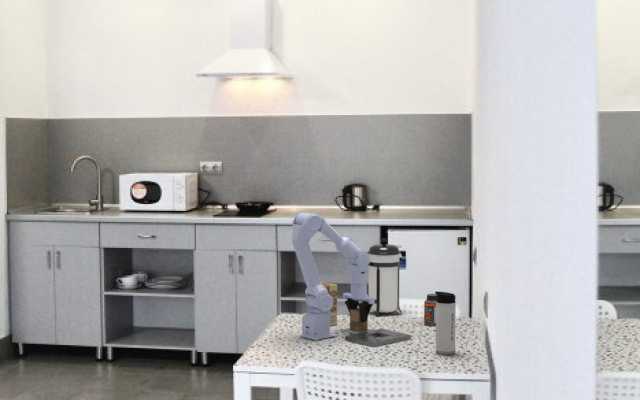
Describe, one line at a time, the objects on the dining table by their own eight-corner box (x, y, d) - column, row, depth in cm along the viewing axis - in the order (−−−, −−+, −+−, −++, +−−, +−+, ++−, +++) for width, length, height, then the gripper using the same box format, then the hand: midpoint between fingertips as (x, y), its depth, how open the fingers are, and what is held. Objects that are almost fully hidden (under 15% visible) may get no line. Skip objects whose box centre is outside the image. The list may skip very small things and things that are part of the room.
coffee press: (372, 308, 370) (373, 235, 368) (408, 312, 362) (409, 237, 360) (353, 315, 355) (353, 239, 353) (390, 319, 347) (390, 241, 345)
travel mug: (433, 350, 297) (434, 290, 295) (454, 350, 296) (454, 290, 295) (435, 355, 290) (436, 293, 289) (456, 355, 290) (456, 293, 289)
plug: (358, 332, 323) (358, 311, 322) (349, 330, 326) (349, 309, 326) (367, 330, 326) (367, 309, 325) (359, 328, 329) (359, 308, 329)
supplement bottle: (420, 324, 338) (420, 294, 337) (430, 322, 342) (430, 292, 341) (433, 326, 334) (433, 296, 333) (443, 324, 338) (443, 294, 337)
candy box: (338, 324, 337) (338, 284, 336) (329, 326, 335) (329, 285, 334) (322, 321, 344) (322, 281, 343) (314, 322, 342) (313, 282, 341)
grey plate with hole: (373, 347, 302) (373, 342, 301) (344, 340, 312) (344, 335, 312) (410, 339, 313) (410, 334, 313) (382, 332, 324) (382, 328, 324)
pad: (358, 335, 320) (358, 334, 320) (341, 331, 326) (341, 330, 326) (376, 331, 325) (376, 330, 325) (359, 327, 332) (359, 326, 332)
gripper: (380, 284, 322) (380, 322, 323) (353, 279, 333) (353, 316, 334) (366, 286, 317) (366, 325, 318) (338, 281, 328) (338, 319, 329)
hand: (358, 321), depth 326 cm, fingers open, 5 cm apart
